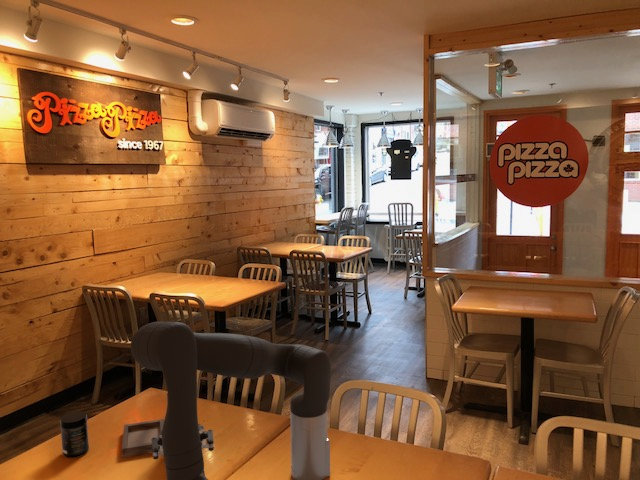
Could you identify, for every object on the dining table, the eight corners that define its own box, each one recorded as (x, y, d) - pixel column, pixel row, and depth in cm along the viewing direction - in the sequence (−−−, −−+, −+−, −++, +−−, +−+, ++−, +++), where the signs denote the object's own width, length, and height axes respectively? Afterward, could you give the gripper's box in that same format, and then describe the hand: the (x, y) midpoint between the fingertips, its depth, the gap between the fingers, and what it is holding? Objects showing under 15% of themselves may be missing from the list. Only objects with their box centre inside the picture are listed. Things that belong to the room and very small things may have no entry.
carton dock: (164, 426, 159) (164, 418, 158) (166, 450, 145) (165, 441, 145) (124, 432, 155) (123, 424, 155) (122, 457, 142) (121, 449, 141)
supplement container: (94, 449, 146) (92, 414, 145) (73, 461, 140) (70, 424, 139) (79, 443, 149) (76, 409, 148) (57, 455, 143) (54, 419, 142)
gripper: (218, 442, 117) (209, 411, 133) (151, 452, 113) (150, 419, 128) (218, 473, 118) (210, 439, 133) (152, 484, 114) (151, 448, 129)
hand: (181, 429), depth 131 cm, fingers open, 8 cm apart
